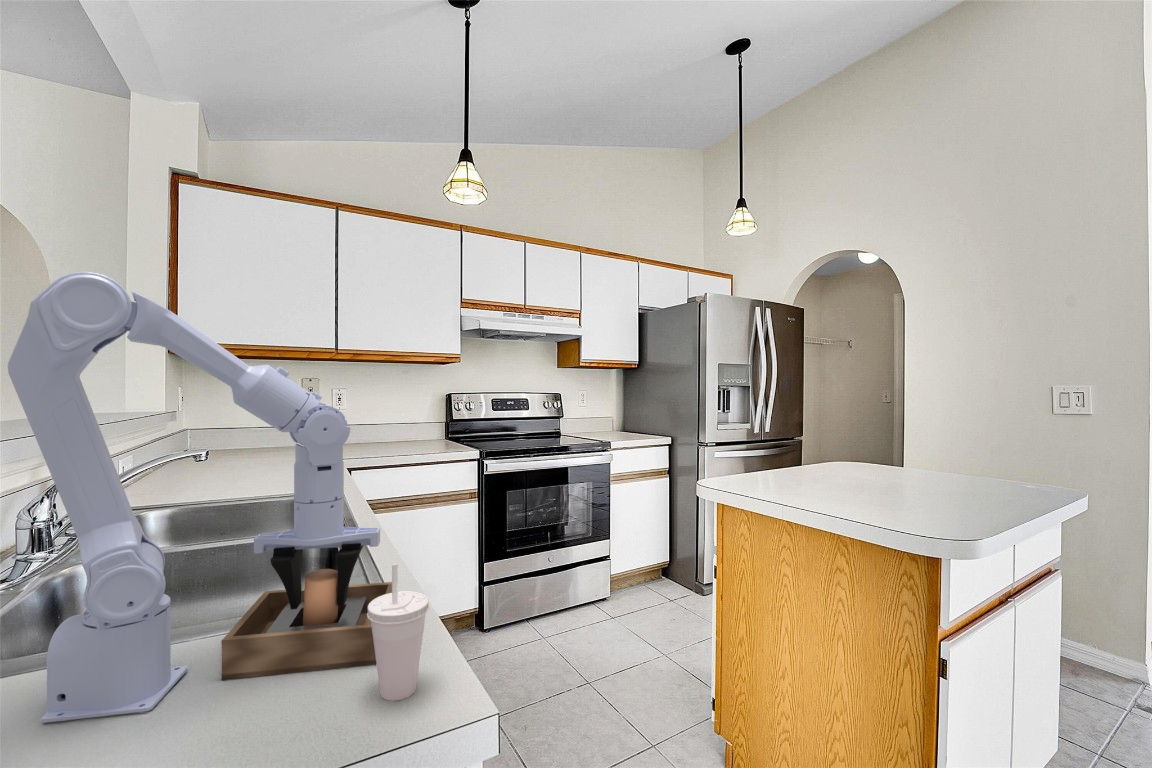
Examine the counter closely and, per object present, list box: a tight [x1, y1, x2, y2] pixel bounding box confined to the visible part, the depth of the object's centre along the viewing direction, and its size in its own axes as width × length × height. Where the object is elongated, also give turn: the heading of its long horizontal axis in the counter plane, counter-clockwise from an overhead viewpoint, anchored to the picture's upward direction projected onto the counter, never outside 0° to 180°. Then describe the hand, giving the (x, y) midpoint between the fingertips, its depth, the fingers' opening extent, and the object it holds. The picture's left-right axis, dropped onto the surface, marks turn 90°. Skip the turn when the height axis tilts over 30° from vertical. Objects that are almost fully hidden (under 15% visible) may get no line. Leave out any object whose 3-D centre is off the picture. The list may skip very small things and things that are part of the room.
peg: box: [303, 568, 338, 626], centre depth 69 cm, size 4×4×8 cm
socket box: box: [221, 581, 392, 681], centre depth 69 cm, size 17×14×4 cm
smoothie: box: [367, 562, 430, 702], centre depth 58 cm, size 6×6×14 cm
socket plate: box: [266, 596, 367, 633], centre depth 69 cm, size 10×10×3 cm
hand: (319, 604), depth 69 cm, fingers open, 5 cm apart
